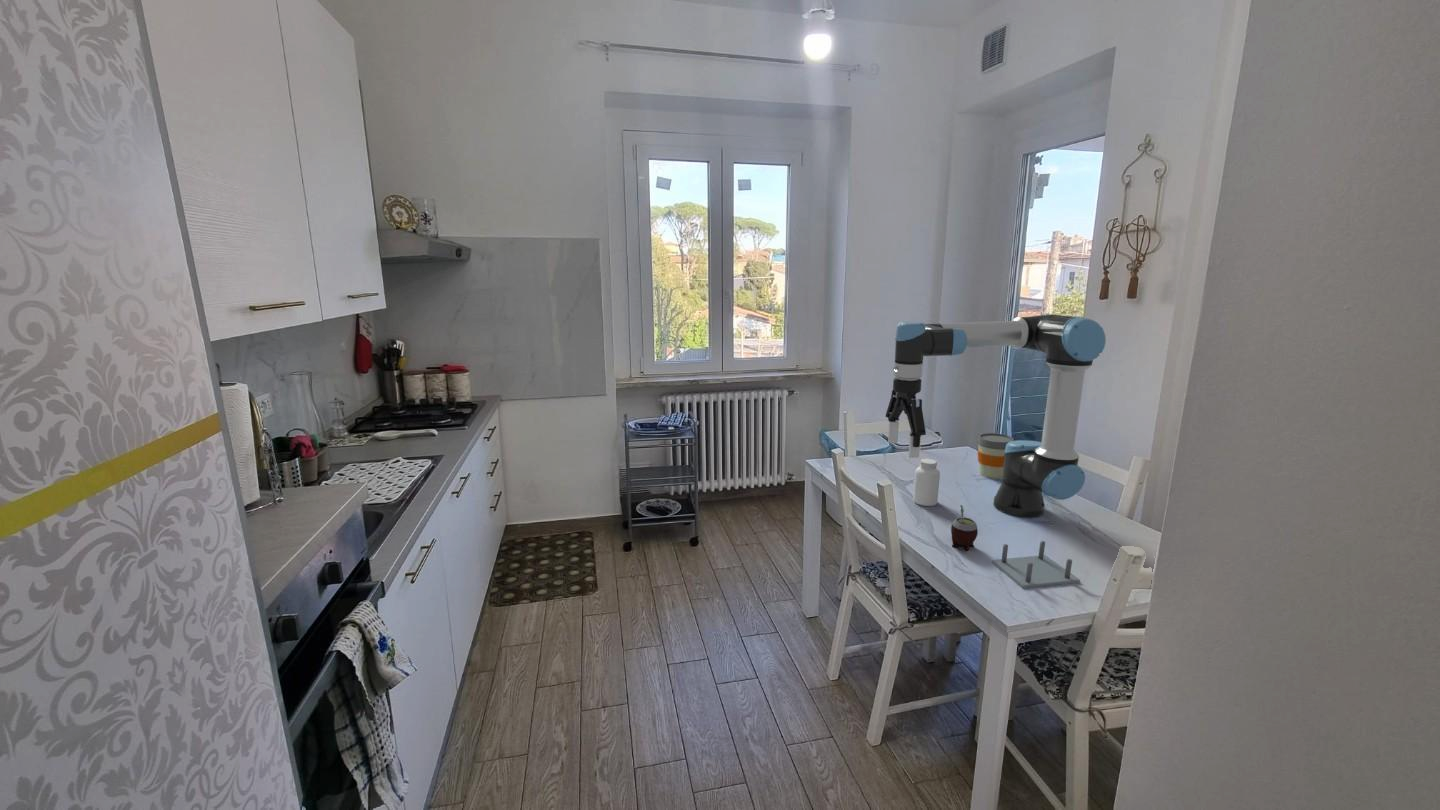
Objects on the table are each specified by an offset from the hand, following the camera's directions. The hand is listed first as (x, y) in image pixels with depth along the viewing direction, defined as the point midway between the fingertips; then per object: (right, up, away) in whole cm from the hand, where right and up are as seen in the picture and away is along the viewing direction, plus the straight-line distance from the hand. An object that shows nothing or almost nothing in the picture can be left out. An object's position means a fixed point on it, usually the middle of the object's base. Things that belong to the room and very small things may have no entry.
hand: (902, 449), depth 166 cm
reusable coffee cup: (+53, -14, +56) cm, 79 cm away
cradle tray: (+31, -31, -13) cm, 46 cm away
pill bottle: (+18, -21, +32) cm, 42 cm away
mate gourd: (+18, -28, +1) cm, 34 cm away
